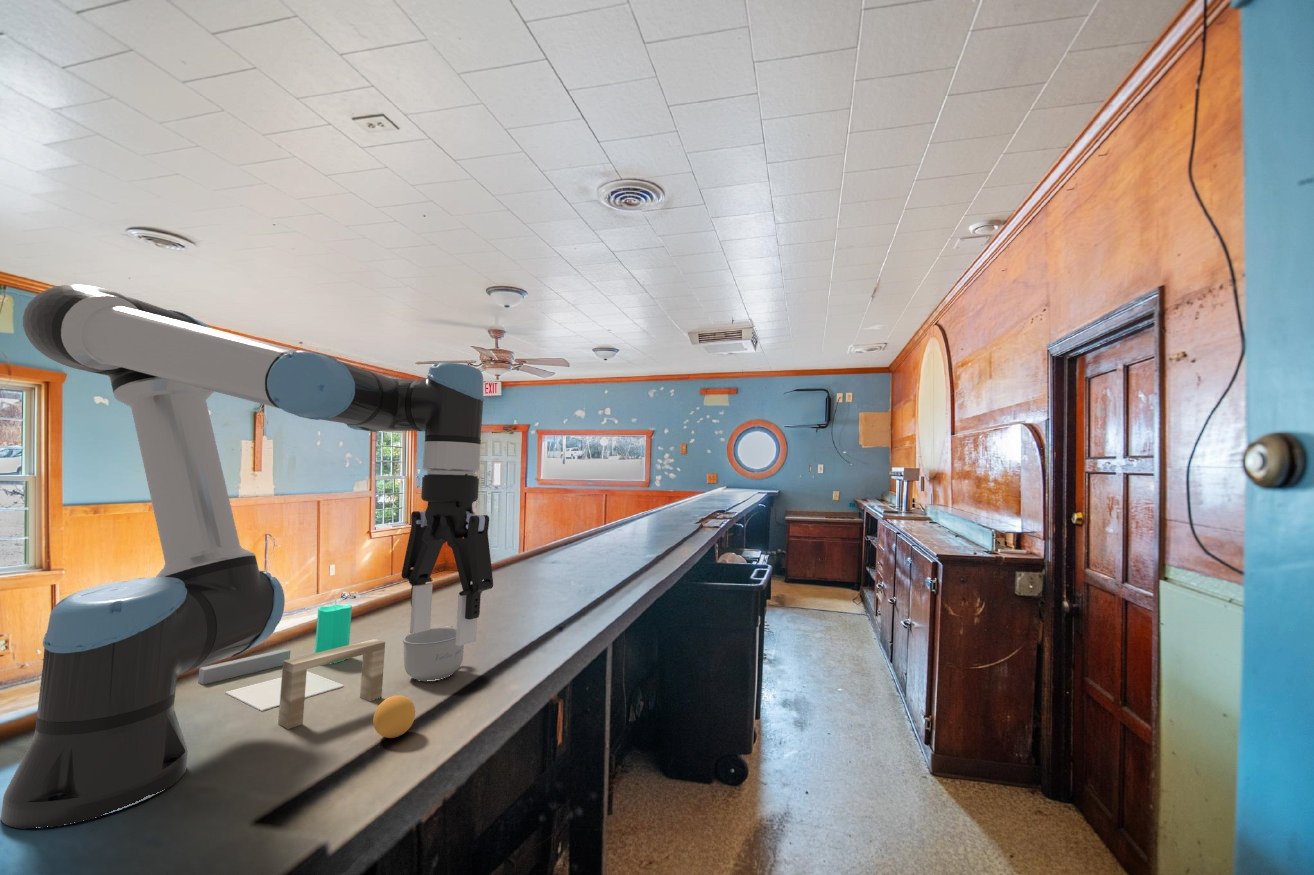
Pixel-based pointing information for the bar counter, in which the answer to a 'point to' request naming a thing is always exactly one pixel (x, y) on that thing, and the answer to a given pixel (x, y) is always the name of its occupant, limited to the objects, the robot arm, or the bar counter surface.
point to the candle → (333, 627)
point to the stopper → (242, 666)
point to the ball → (394, 716)
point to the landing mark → (279, 691)
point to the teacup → (432, 653)
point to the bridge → (297, 667)
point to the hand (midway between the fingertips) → (442, 636)
